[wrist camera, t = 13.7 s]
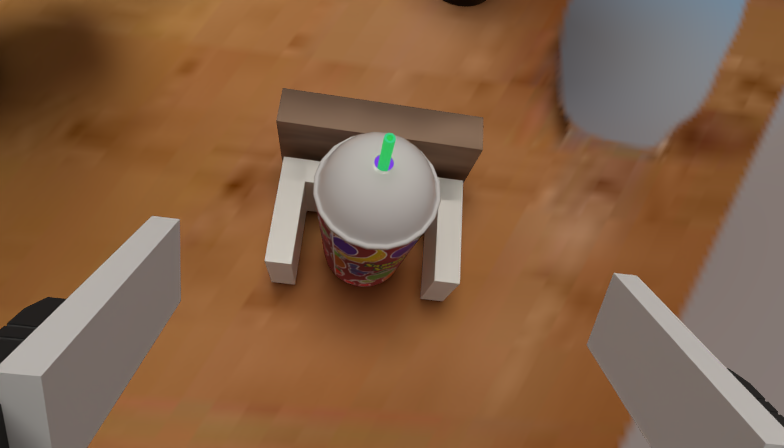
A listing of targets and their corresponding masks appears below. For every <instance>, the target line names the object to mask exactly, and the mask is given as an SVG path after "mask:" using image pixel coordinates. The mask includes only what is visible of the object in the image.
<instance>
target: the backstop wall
mask: <svg viewBox="0 0 784 448" xmlns="http://www.w3.org/2000/svg"><path fill="white" fill-rule="evenodd" d="M276 121H277V128H278V135H279V142H280V149H281V155H282V162H283V159H284V157H291V158H299V159H306V160H314V161H321V159H322V158H323V157H324V156H325V155H326V154H327V153H328V152H329V151H330V150H331V149H332V147H333V146H335V145H337V144H338V143H340V142H342V141H344V140H346V139H348V138H349V137H353V136H356V135H359V134H364V133H369V132H386V133H393V134H394V135H397V136H400V137H403V138H405V139H406V140H408V141H409V142H410V143H412V144H413V145H415V146H416V147H417V148H418V149H419V150H420V151H422V153H423V154H424V155H425V156H426V158H427V159H428V160H429V161H430V162H431V164H432V165H433V166H434V169H435V172H436V174H437V177H440V178H447V179H455V180H462V181H463V183H464V181H465V179H466V178H467V176H468V174H469V172H470V171H471V169H472V167H473V166H474V164H475V162H476V160H477V159H478V157H479V155H480V154H481V152H482V150H483V117H476V116H470V115H463V114H456V113H449V112H442V111H436V110H429V109H422V108H415V107H408V106H401V105H395V104H388V103H381V102H374V101H367V100H361V99H354V98H347V97H340V96H333V95H326V94H320V93H313V92H306V91H299V90H292V89H286V88H283V90H282V95H281V100H280V105H279V110H278V115H277V120H276Z"/></svg>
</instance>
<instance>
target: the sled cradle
mask: <svg viewBox="0 0 784 448" xmlns="http://www.w3.org/2000/svg"><path fill="white" fill-rule="evenodd" d="M320 162H321V161H314V160H306V159H299V158H291V157H284V159H283V164H282V170H281V175H280V180H279V186H278V191H277V197H276V202H275V207H274V213H273V218H272V223H271V229H270V234H269V239H268V245H267V250H266V256H265V264H266V267H267V270H268V273H269V276H270V279H271V281H272V282H276V283H285V284H294V285H295V282H296V276H297V269H298V263H299V257H300V251H301V244H302V238H303V232H304V225H305V219H306V213H307V211H314V212H317V208H316V203H315V199H314V196H313V187H314V175H315V173H316V171H317V168H318V166H319V164H320ZM438 179H439V182H440V195H441V202H440V205H439V208H438V211H437V214H436V218H435V219H434V221H433V222H432V223H431V225H430V226H429V227H428V229H427V230H426V231H425V233H424V249H423V266H422V282H421V298H420V299H427V300H436V301H443V300H444V299H445V298H446V297H447V296H448V295H449V294H450V293H451V292H452V291H453V290H454V289H455V288H456V287H457V286H458V285H459V284H460V260H461V229H462V197H463V181H462V180H455V179H447V178H440V177H438Z"/></svg>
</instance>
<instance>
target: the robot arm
mask: <svg viewBox="0 0 784 448" xmlns="http://www.w3.org/2000/svg"><path fill="white" fill-rule="evenodd" d="M180 301H181V282H180V219H173V218H165V217H157V216H151V217H150V218H149V219H148V220H147V221H146V222H145V223H144V224H143V225H142V226H141V227H140V228H139V229H138V230H137V231H136V232H135V233H134V234H133V235H132V236H131V237H130V238H129V239H128V240H127V241H126V242H125V243H124V244H123V245H122V246H121V247H120V248H119V249H118V250H117V251H116V252H114V253H113V254H112V255H111V256H110V257H109V258H108V259H107V260H106V261H105V262H104V263H103V264H102V265H101V266H100V267H99V268H98V269H97V270H96V271H95V272H94V273H93V274H92V275H91V276H90V277H89V278H88V279H87V280H86V281H85V282H84V283H83V284H82V285H81V286H80V287H79V288H78V289H76V290H75V291H74V292H73V293H72V294H71V295H70V296H69V297H68V298H67V299H62V298H52V297H47V298H45V299H43V300H41V301H39V302H37V303H34V304H32V305H30V306H28V307H26V308H24V309H23V310H22V311H21V312H20V313H18V314H17V315H16V316H15V317H14V318H13V319H12V320H11V321H9V322H8V323H7V326H4V327H3V328H1V329H0V448H87V447H88V445H89V444H90V442H91V441H92V439H93V437H94V436H95V434H96V433H97V431H98V430H99V428H100V426H101V425H102V423H103V422H104V420H105V419H106V417H107V416H108V414H109V412H110V411H111V409H112V408H113V406H114V405H115V403H116V401H117V400H118V398H119V397H120V395H121V394H122V392H123V390H124V389H125V387H126V386H127V384H128V383H129V381H130V380H131V378H132V376H133V375H134V373H135V372H136V370H137V369H138V367H139V365H140V364H141V362H142V361H143V359H144V358H145V356H146V355H147V353H148V351H149V350H150V348H151V347H152V345H153V344H154V342H155V340H156V339H157V337H158V336H159V334H160V333H161V331H162V329H163V328H164V326H165V325H166V323H167V322H168V320H169V319H170V317H171V315H172V314H173V312H174V311H175V309H176V308H177V306H178V304H179V303H180ZM587 346H588V348H589V350H590V351H591V353H592V354H593V356H594V358H595V359H596V361H597V362H598V364H599V366H600V367H601V369H602V370H603V372H604V374H605V375H606V377H607V378H608V380H609V381H610V383H611V385H612V386H613V388H614V389H615V391H616V393H617V394H618V396H619V397H620V399H621V401H622V402H623V404H624V405H625V407H626V409H627V410H628V412H629V413H630V415H631V417H632V418H633V420H634V421H635V423H636V425H637V426H638V428H639V429H640V431H641V432H642V434H643V436H644V437H645V439H646V440H647V442H648V444H649V445H650V447H651V448H784V417H783V416H782V415H778V411H777V410H776V409H775V408H774V407H773V406H772V405H771V404H770V403H769V402H765V398H764V397H763V396H762V395H761V394H760V393H759V392H758V391H757V390H756V389H755V388H754V387H753V386H752V385H751V384H750V383H749V382H747V381H746V380H744V379H743V378H742V377H740V376H739V375H737V374H736V373H734V372H733V371H731V370H730V369H728V368H726V367H725V366H724V365H723V364H722V363H721V362H720V361H719V360H718V359H717V358H716V357H715V356H714V355H713V354H712V353H711V352H710V351H709V350H708V349H707V348H706V347H705V346H704V345H703V344H702V343H701V342H700V340H699V339H698V338H697V337H696V336H695V335H694V334H693V333H692V332H691V331H690V330H689V329H688V328H687V327H686V326H685V325H684V324H683V323H682V322H681V321H680V320H679V319H678V318H677V317H676V316H675V315H674V314H673V313H672V312H671V310H670V309H669V308H668V307H667V306H666V305H665V304H664V303H663V302H662V301H661V300H660V299H659V298H658V297H657V296H656V295H655V294H654V293H653V292H652V291H651V290H650V289H649V288H648V287H647V286H646V285H645V284H644V283H643V282H642V281H641V279H640V278H639V277H638V276H634V275H626V274H618V273H614V274H613V276H612V279H611V282H610V284H609V287H608V290H607V292H606V295H605V298H604V300H603V303H602V306H601V308H600V311H599V314H598V316H597V319H596V322H595V324H594V327H593V330H592V332H591V335H590V338H589V340H588V343H587Z"/></svg>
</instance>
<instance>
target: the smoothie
mask: <svg viewBox="0 0 784 448" xmlns="http://www.w3.org/2000/svg"><path fill="white" fill-rule="evenodd" d="M313 196H314V199H315V203H316V208H317V214H318V219H319V225H320V230H321V236H322V241H323V247H324V253H325V257H326V260H327V263H328V266H329V267H330V268H331V270H332V271H333V272H334V274H335V275H336V276H337V277H339V278H340V279H341V280H343V281H344V282H346V283H349V284H352V285H355V286H373V285H376V284H379V283H382V282H384V281H385V280H386V279H388V278H389V277H391V276H392V275H393V273H394V272H395V270H396V269H397V268H398V266H399V265H400V264H401V262H402V261H403V260H404V258H405V257H406V256H407V254H408V253H409V251H410V250H411V249H412V247H413V246H414V245H415V243H416V242H417V241H418V239H419V238H420V237H421V235H422V234H424V233H425V231H426V230H427V229H428V227H429V226H430V225H431V223H432V222H433V221H434V219H435V218H436V214H437V211H438V208H439V205H440V202H441V195H440V182H439V179H438V177H437V174H436V172H435V169H434V166H433V165H432V164H431V162H430V161H429V160H428V159H427V158H426V156H425V155H424V154H423V153H422V151H420V150H419V149H418V148H417V147H416V146H415V145H413V144H412V143H410V142H409V141H408V140H406V139H405V138H403V137H400V136H397V135H394V134H393V133H386V132H369V133H364V134H359V135H356V136H353V137H349V138H348V139H346V140H344V141H342V142H340V143H338V144H337V145H335V146H333V147H332V149H331V150H330V151H329V152H328V153H327V154H326V155H325V156H324V157H323V158H322V159H321V162H320V164H319V166H318V168H317V171H316V173H315V175H314V187H313Z"/></svg>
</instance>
